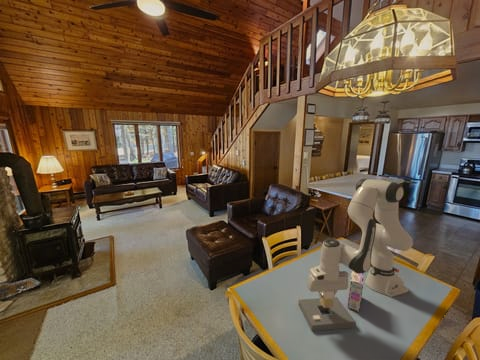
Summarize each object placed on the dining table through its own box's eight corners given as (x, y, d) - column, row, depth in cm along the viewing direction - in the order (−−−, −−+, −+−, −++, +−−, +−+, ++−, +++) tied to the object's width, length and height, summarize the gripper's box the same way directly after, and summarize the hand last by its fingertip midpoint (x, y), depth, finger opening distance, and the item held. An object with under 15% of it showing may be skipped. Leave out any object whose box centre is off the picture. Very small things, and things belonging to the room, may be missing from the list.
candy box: (359, 312, 106) (363, 284, 103) (347, 308, 109) (350, 280, 106) (360, 296, 117) (363, 270, 114) (349, 292, 120) (352, 267, 117)
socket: (336, 301, 113) (336, 295, 112) (355, 327, 97) (356, 320, 97) (298, 304, 111) (298, 298, 110) (311, 330, 95) (312, 323, 94)
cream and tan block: (327, 300, 105) (329, 285, 104) (332, 307, 101) (334, 291, 99) (319, 301, 105) (321, 285, 103) (324, 307, 100) (325, 291, 99)
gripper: (344, 267, 104) (342, 291, 106) (306, 269, 102) (304, 293, 104) (352, 274, 98) (349, 300, 100) (312, 277, 96) (310, 302, 98)
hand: (326, 296), depth 102 cm, fingers closed on cream and tan block, 4 cm apart
